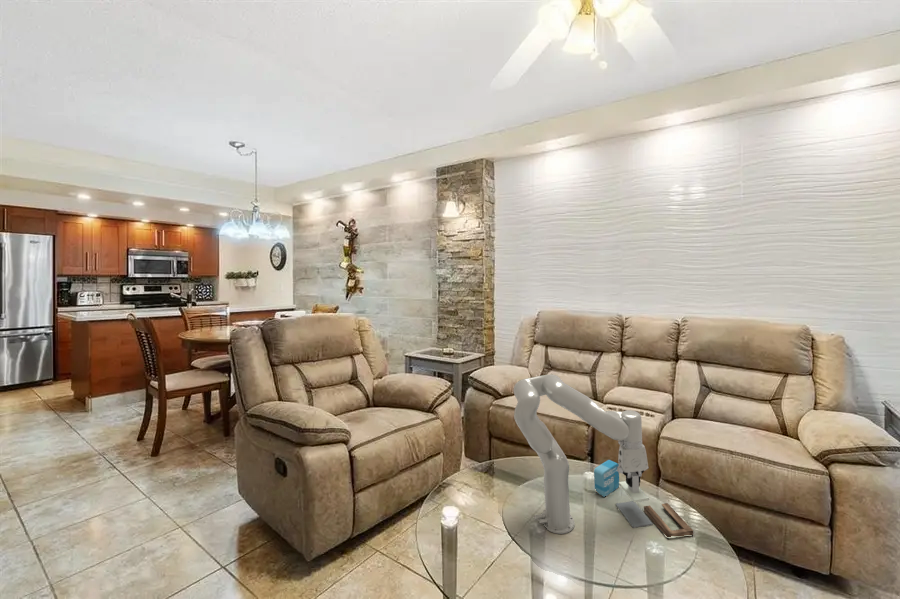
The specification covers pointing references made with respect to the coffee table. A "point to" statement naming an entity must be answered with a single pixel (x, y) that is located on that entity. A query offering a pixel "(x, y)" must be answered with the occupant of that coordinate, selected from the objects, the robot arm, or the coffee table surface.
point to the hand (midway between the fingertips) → (633, 484)
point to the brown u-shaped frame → (663, 526)
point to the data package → (606, 478)
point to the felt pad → (634, 514)
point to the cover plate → (634, 495)
